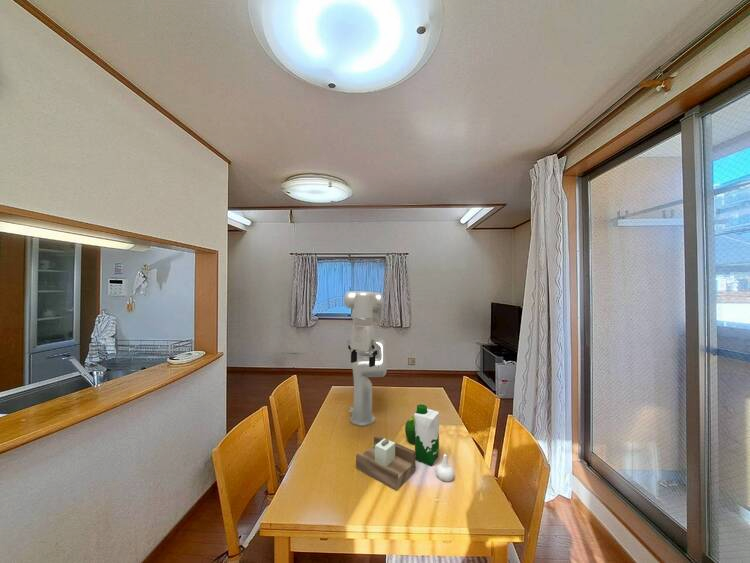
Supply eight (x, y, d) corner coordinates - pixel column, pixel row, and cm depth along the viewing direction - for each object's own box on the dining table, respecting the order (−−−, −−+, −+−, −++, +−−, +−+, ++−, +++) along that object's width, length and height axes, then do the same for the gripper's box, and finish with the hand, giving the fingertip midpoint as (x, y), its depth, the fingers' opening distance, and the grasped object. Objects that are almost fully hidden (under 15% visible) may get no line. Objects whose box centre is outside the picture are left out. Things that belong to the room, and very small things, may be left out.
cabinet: (374, 461, 100) (374, 442, 100) (384, 454, 105) (384, 435, 105) (385, 467, 97) (386, 447, 97) (395, 459, 102) (395, 440, 102)
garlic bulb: (434, 471, 101) (433, 450, 101) (451, 470, 101) (449, 448, 101) (438, 484, 95) (436, 460, 95) (456, 482, 94) (454, 459, 95)
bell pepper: (423, 447, 115) (423, 423, 116) (404, 445, 117) (404, 421, 117) (424, 437, 124) (424, 414, 124) (406, 434, 125) (406, 413, 125)
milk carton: (420, 449, 114) (420, 401, 114) (441, 456, 109) (441, 406, 110) (411, 460, 106) (412, 409, 107) (433, 468, 102) (434, 414, 102)
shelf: (376, 452, 112) (377, 434, 112) (415, 470, 101) (415, 451, 101) (355, 468, 101) (356, 449, 102) (396, 490, 90) (396, 469, 91)
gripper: (341, 321, 114) (341, 362, 113) (374, 325, 103) (373, 370, 103) (353, 319, 120) (353, 358, 119) (385, 323, 109) (385, 366, 109)
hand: (362, 364), depth 111 cm, fingers open, 9 cm apart
